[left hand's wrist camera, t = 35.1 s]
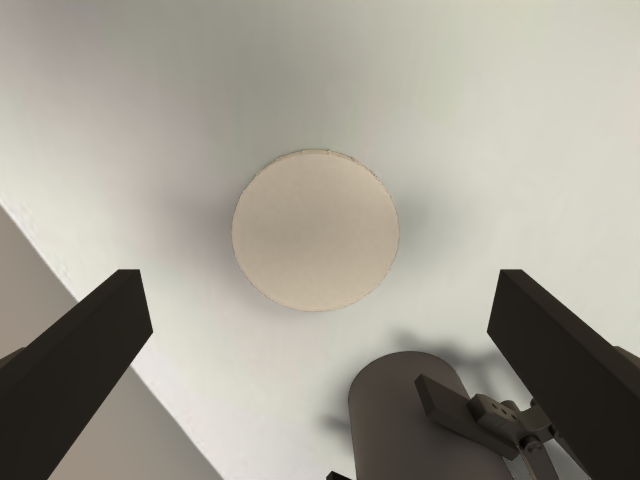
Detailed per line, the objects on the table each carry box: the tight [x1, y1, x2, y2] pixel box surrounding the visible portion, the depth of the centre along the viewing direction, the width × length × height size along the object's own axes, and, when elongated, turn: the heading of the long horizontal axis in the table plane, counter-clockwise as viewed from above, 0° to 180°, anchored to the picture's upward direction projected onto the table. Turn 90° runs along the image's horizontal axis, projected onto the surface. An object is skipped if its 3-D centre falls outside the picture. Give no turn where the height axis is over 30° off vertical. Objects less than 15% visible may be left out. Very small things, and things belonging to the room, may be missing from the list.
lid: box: [232, 149, 399, 312], centre depth 23 cm, size 10×11×2 cm
